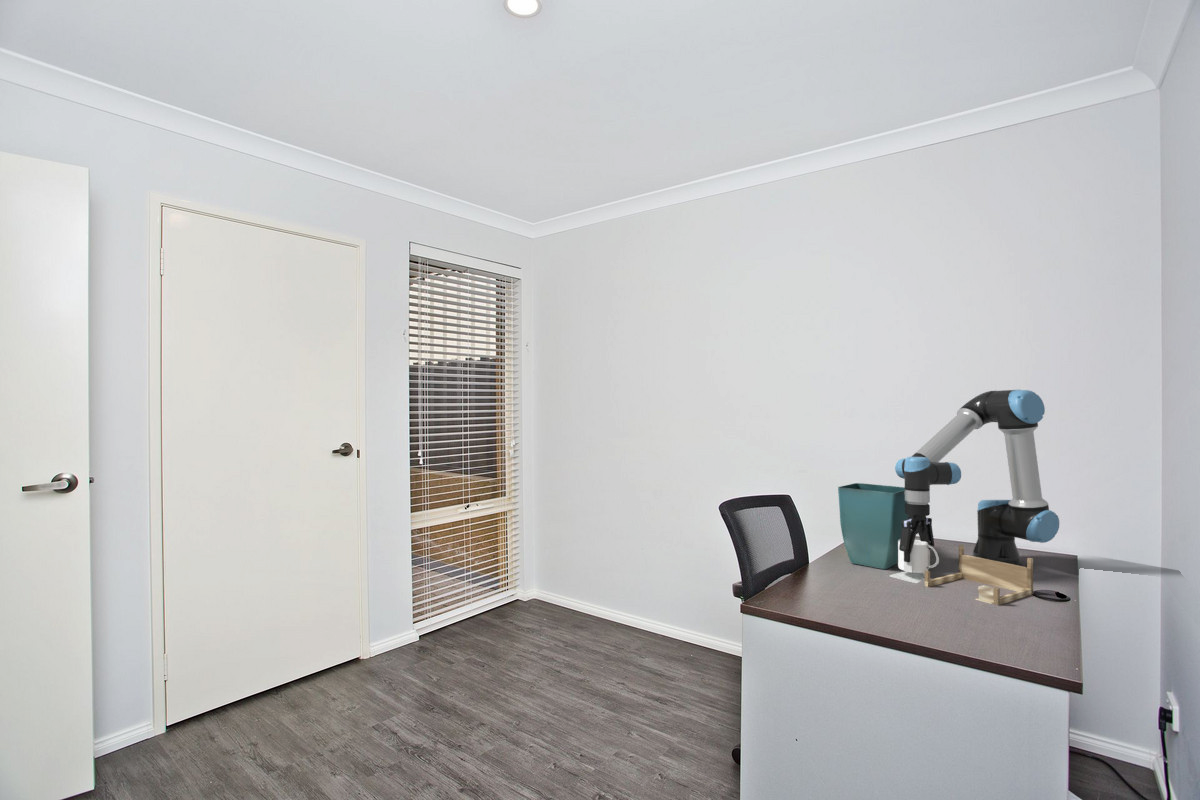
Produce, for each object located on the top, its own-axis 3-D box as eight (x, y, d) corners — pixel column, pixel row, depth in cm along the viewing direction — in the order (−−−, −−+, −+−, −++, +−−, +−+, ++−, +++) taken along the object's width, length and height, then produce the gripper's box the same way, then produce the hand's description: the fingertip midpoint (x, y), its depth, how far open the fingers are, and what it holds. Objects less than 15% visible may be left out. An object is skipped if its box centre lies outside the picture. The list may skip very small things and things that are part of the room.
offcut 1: (978, 591, 173) (978, 586, 173) (983, 590, 174) (983, 585, 174) (993, 595, 169) (993, 590, 169) (998, 593, 171) (998, 588, 171)
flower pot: (912, 563, 218) (912, 487, 219) (895, 574, 204) (895, 492, 204) (856, 554, 232) (856, 482, 232) (837, 564, 217) (837, 487, 218)
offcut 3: (985, 603, 175) (985, 596, 175) (1001, 607, 171) (1001, 600, 171) (975, 605, 173) (975, 598, 173) (991, 610, 169) (991, 603, 169)
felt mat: (910, 571, 207) (910, 570, 207) (945, 580, 197) (945, 578, 197) (889, 576, 201) (889, 574, 201) (924, 585, 191) (924, 583, 191)
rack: (961, 581, 196) (960, 544, 196) (1033, 598, 178) (1033, 558, 178) (924, 590, 185) (924, 552, 186) (997, 610, 167) (997, 567, 168)
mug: (895, 569, 199) (895, 542, 199) (901, 564, 206) (901, 537, 206) (936, 576, 192) (935, 547, 192) (940, 570, 199) (940, 542, 199)
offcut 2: (980, 596, 175) (980, 589, 175) (996, 599, 172) (996, 592, 172) (978, 599, 172) (978, 592, 172) (995, 602, 169) (995, 595, 169)
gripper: (924, 499, 208) (924, 563, 208) (887, 503, 197) (887, 571, 196) (946, 502, 202) (946, 568, 201) (908, 506, 190) (908, 576, 190)
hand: (917, 569), depth 199 cm, fingers closed on mug, 9 cm apart
